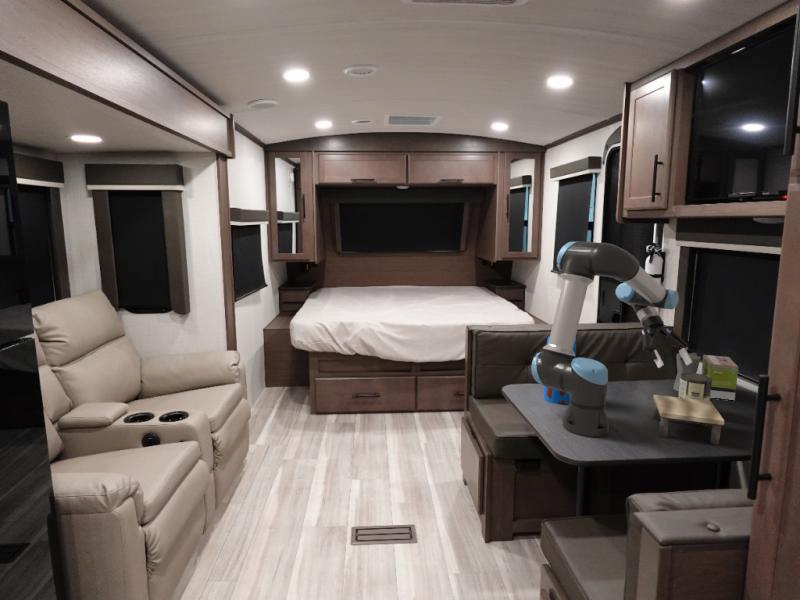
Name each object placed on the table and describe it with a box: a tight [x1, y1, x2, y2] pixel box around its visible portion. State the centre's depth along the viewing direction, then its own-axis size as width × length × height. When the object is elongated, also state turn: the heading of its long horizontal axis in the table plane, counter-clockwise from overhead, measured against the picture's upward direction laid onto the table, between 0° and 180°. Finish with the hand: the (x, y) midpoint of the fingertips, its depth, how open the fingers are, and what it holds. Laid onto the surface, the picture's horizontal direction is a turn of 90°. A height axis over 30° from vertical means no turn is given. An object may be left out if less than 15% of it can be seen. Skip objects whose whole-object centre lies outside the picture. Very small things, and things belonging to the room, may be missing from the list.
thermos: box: [543, 335, 577, 405], centre depth 196 cm, size 11×11×25 cm
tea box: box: [700, 354, 739, 401], centre depth 206 cm, size 15×10×15 cm
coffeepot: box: [672, 348, 702, 393], centre depth 210 cm, size 15×9×18 cm, turn 125°
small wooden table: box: [652, 394, 725, 446], centre depth 170 cm, size 18×18×8 cm
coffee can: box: [678, 373, 712, 401], centre depth 185 cm, size 10×10×14 cm
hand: (675, 365), depth 194 cm, fingers open, 13 cm apart
